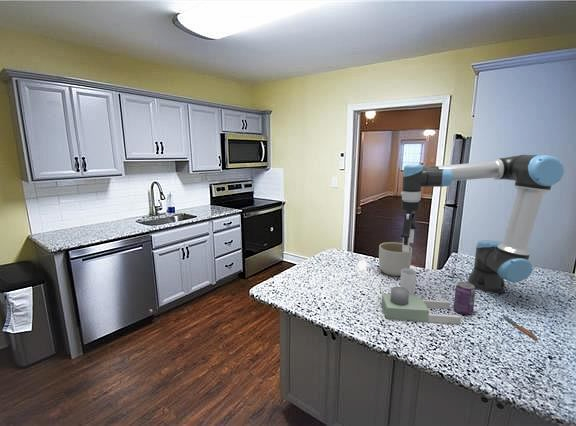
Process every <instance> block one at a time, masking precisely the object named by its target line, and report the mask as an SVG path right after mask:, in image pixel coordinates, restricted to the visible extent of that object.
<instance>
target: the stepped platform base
mask: <svg viewBox="0 0 576 426" xmlns="http://www.w3.org/2000/svg"><path fill="white" fill-rule="evenodd" d="M450 304H451V302H450V301H449V300H435V299H434V300H433V299H432V300H431V299H423V298H422V296H421V295H415V294H414V295H409V290H408V289H406V288H404V287H400V286H397V285H396V286H392V287H391V289H390V293H381V306H382V310H383V312H384V315H385V319H386V320H398V321H411V322H413V321H414V322H427V323H436V324H438V323H439V324H453V325H461V323H462V316H461V315H455V314H454V315H453V314H452V315H451V314H439V313H438V314H437V313H430V310H429V309H431V308H432V309H442V308H443V309H445V310H446V309H447V310H450V306H451V305H450Z"/></svg>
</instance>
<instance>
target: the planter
mask: <svg viewBox="0 0 576 426" xmlns="http://www.w3.org/2000/svg"><path fill="white" fill-rule="evenodd" d="M402 244H403V242H395V241H393V242H392V241H390V242H383V243H380V244H379V246H378V264H379V265H378V266H379V268H380V270H381V272H383V273H384V274H386V275H388V276H392V277H401V270H402V269H411V263H412V257H413V256H412V254H413V248H412V246H410V245H409V252H403V251H402Z"/></svg>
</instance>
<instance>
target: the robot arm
mask: <svg viewBox="0 0 576 426" xmlns="http://www.w3.org/2000/svg"><path fill="white" fill-rule="evenodd" d="M564 169H565V168H564V165H563V163H562V162H561V161H560V159H558V158H557V157H555V156H551V155H545V154H519V155H513V156H509V157H508V156H507V157H506V156H505V157H500V158H494V159H493V160H491V161H481V162H480V161H479V162H470V163H459V164H447V165H436V166H423V165H422V164H406V165H404V167H403V171H402V189H401V190H402V191H401V192H400V195H402V196H401V202H400V203H401V204H400V205H401V206H400V207H401V210H403V211H405V213H404V220H403V221H404V222H403V227H402V228H403V229H402V234H401V235H400V238H402V243H403V244H402V251H403V252H409V246H410V244H414V240H415V238H414V237H415V230H416V229H417V226H416V211H417V212H418V211H419V210H420V209H421V199H422V198H421V196H422V188H428V187H431V188H433V187H435V188H436V187H437V188H439V187H440V188H443V187H450V186H452V184H453V182H456V181H457V182H458V181H471V180H481V179H482V180H484V179H494V180H495V181H496V180H508V181H515V183H514V186H513V187H515V188H516V191H517V192H516V195H515V199H514V202H513V206H512V209H511V213H510V216H509V219H508V222H507V226H506V230H505V234H504V236H503V241H497V240H480V241H477V244H476V246H475V256H474V265H473V269H472V271H471V273H470V274H469V276H468V277H467V278H468V279H467V283H470V284H473V285H474V286H475V290H476V289H477V290H480V291H483V292H487V293H494V294H495V293H502V292H504V291H505V288H506V287H505V286H506V284H505V281H506V282H507V281H508V282H510V283H519V282H522V281H524V280H527V279H528V278H530V276H531V274H532V273H533V270H534V269H533V265H532V263H531V261H530V260H529V259H530V256H531V252H530V251H529V249H528V247H529V243H530V240H531V237H532V234H533V230H534V227H535V224H536V220H537V218H538V215H539V211H540V208H541V205H542V201H543V198H544V195H545V194H546V193H549V192H550V191H551V188H552V186H553V185H556V184H557V183H559V182H560V181H561V180H562V179H563V176H564V171H565V170H564Z"/></svg>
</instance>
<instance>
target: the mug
mask: <svg viewBox="0 0 576 426" xmlns="http://www.w3.org/2000/svg"><path fill="white" fill-rule="evenodd" d="M417 273H418V272H417V271H416V270H414V269H412V268H410V269H402V270H401V276H400V286H399V287H404V288H406V289H408V290H409V295H415V291H416V283H417Z"/></svg>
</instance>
